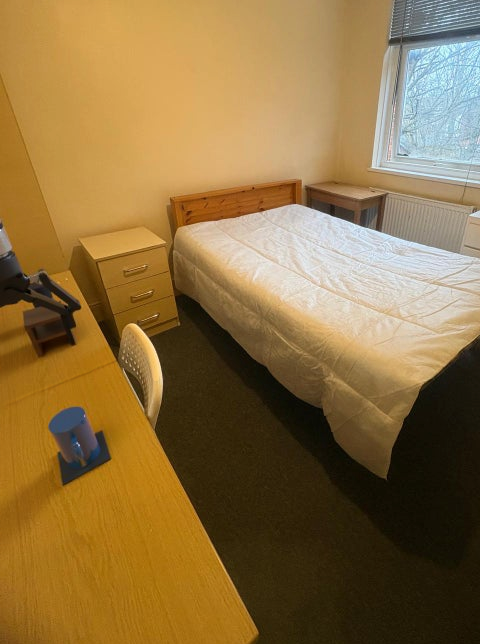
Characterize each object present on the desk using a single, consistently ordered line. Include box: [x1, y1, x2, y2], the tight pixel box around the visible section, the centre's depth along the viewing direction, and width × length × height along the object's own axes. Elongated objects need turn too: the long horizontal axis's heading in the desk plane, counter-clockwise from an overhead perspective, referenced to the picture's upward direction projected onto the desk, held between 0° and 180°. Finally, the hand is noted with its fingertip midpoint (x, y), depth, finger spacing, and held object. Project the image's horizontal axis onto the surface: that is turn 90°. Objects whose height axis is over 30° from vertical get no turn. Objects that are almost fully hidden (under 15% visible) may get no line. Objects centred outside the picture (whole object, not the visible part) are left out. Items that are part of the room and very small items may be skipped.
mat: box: [57, 430, 112, 486], centre depth 72 cm, size 9×9×1 cm
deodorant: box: [28, 282, 55, 308], centre depth 113 cm, size 6×6×15 cm
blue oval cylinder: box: [47, 406, 100, 469], centre depth 68 cm, size 9×6×12 cm
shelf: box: [22, 300, 77, 358], centre depth 103 cm, size 10×10×12 cm
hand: (31, 355), depth 62 cm, fingers open, 13 cm apart
